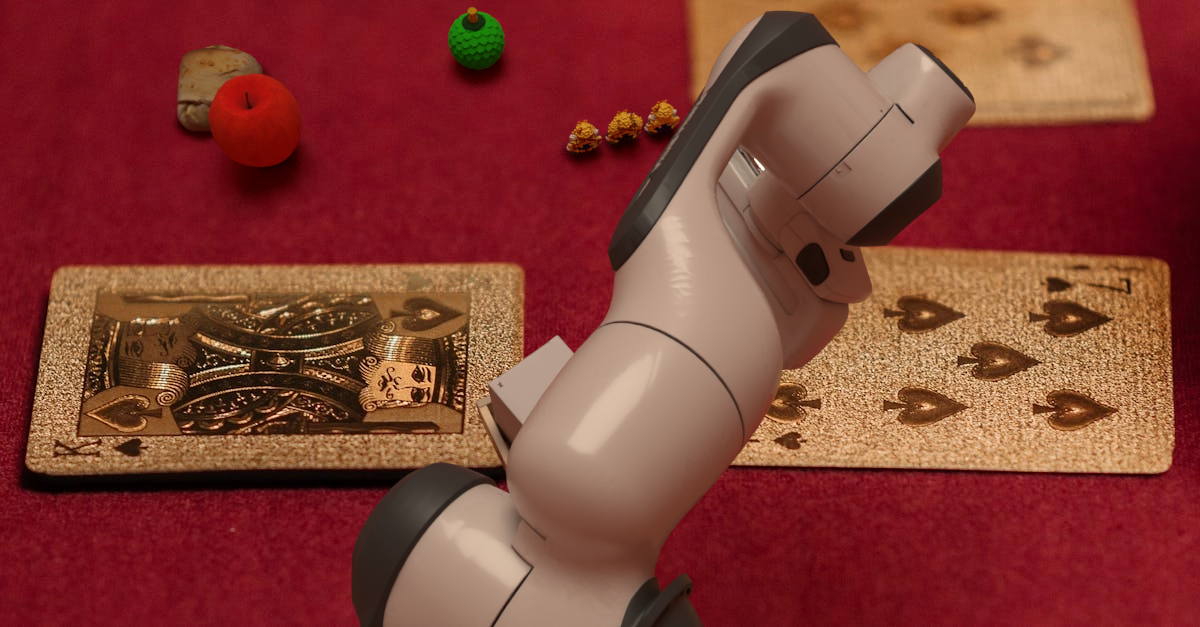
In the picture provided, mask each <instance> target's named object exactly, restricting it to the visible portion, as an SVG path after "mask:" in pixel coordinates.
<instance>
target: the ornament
mask: <svg viewBox="0 0 1200 627" xmlns="http://www.w3.org/2000/svg"><path fill="white" fill-rule="evenodd" d="M447 35H448V38H447V43H448V48H449V51H450V53H451V56H452V57H453V58H454V60H455V61H456V62H457V63H459V64H460V65H461V66H463V67H465V68H467V69H469V70H476V71H479V70H484V69H489V68H490V67H491V66H493V65H495V64H496V63H497V61H498V60H500V58H501V57H502V55H503V53H504V48H505V47H506V41H505V33H504V30H503V27H502V25H501V24H500V22H499V21H498V20H497V19H496V18H495V17H493V16H491V14H489V13H487V12H483V11H479V10H478V9H476V7H473V6H472V7H469V8H468V9H467V12H466V13H463V14H461V15H459V16H458V18H456V19H455V20H454V21H453V24H451V26H450V28H449V31H448V34H447Z"/></svg>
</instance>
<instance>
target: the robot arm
mask: <svg viewBox="0 0 1200 627" xmlns="http://www.w3.org/2000/svg"><path fill="white" fill-rule="evenodd" d="M973 95H974V94H972V92H971V91H970V89H969V88H968V87H967V86H966V85H965V84H964V82H963V81H962V80H961V79H960V78H959V77H958V76H957V75H956V73H954V72H953V70H951V68H949V66H948V65H946V64H945V63H944V61H942V59H940V58H938V57H937V56H936V55H935V54H934V52H932V51H931V50H930V49H928V48H927V47H925V46H923V45H921V44H917V43H914V42H911V41H910V42H906V43H904V44H902V45H901V46H900V47H898V48H896V49H895V50H894V51H892V52H891V53H889V54H888V55H886V56H885V57H884V58H883V59H881V60H880V61H879V62H877V63H876V64H875V65H873V67H871V68H869V69H868V70H867V71H866V72H864V70H863V69H861V67H859V65H857V63H856V62H855V61H853V59H852V58H851V57H849V55H848V54H846V52H845V51H843V49H842V48H841V45H840V44H839V42H837V40H836V39H835V38H834V37H833V35H832V34H831V33H830V32H829V31H828V30H827V28H826V27H825V26H824V24H822V22H821V21H820V20H819V19H818V17H816V15H815V14H814V13H811V12H806V11H797V10H767V11H765V12H764V13H763V14H761V15H759V16H757V17H755V18H753V19H752V20H750V21H748V23H746V24H745V25H744V26H742V27H741V28H740V29H739V30H738V31H737V32H736V33H735V34H734V35H733V36H732V37H731V38H730V39H729V41H728V42H727V43H726V44H725V46H724V47H723V48H722V50H721V52H720V53H719V54H718V56H717V58H716V60H715V61H714V63H713V65H712V67H711V69H710V72H709V75H708V77H707V80H706V83H705V85H704V87H703V88H702V89H701V92H700V93H699V95H698V96H697V98H696V100H695V101H694V103H693V105H692V106H691V109H690V110H689V111H688V113H687V115H686V116H685V117H684V119H683V121H682V122H681V123H680V125H679V127H678V128H677V130H676V131H675V132H674V134H673V136H672V137H671V138H670V140H669V142H668V143H667V145H666V146H665V148H664V149H663V151H661V154H660V155H659V157H658V158H657V160H656V161H655V163H654V164H653V165H652V167H651V169H650V170H649V171H648V173H647V175H646V176H645V178H644V179H643V181H642V182H641V184H640V186H639V187H638V189H637V190H636V192H635V193H634V195H633V197H632V199H631V200H630V202H629V204H628V205H627V207H626V208H625V210H624V211H623V213H622V215H621V216H620V219H619V221H618V222H617V225H616V226H615V228H614V231H613V233H612V235H611V238H610V240H609V244H608V248H607V255H608V260H609V262H610V266H611V270H612V272H614V273H613V289H612V296H611V301H610V304H609V307H608V311H607V313H606V314H605V316H604V319H603V320H602V321H601V323H600V325H598V327H597V328H596V329H595V330H594V331H593V332H592V333H591V334H590V335H589V336H588V337H587V339H586V340H585V341H584V342H583V343H582V344H581V345H580V346H579V347H578V349H577V350H575V352H573V353H574V354H573V356H572V357H571V358H570V359H569V360H568V362H567V363H566V364H565V365H564V367H563V368H562V369H561V370H560V372H559V373H558V374H557V376H556V377H555V378H554V380H553V381H552V382H551V384H550V385H549V386H548V388H547V389H546V390H545V392H544V393H543V395H542V396H541V397H540V399H539V401H538V402H537V404H536V405H535V407H534V408H533V410H532V411H531V413H530V414H529V416H528V417H527V419H526V421H525V422H524V424H523V426H522V427H521V429H520V431H519V432H518V434H517V436H516V437H515V439H514V441H513V443H512V445H511V448H510V451H509V454H508V458H507V466H506V472H505V477H506V486H507V489H508V492H507V491H505V490H503V489H501V488H500V487H499V488H498V485H497V483H496V481H495V480H494V479H493V478H491V477H489V476H487V475H485V474H482V473H480V472H477V471H475V470H472V469H470V468H467V467H465V466H461V465H458V464H455V463H450V462H446V461H445V462H444V461H437V462H432V463H430V464H427V465H424V466H422V467H420V468H418V469H416V470H414V471H411V472H409V473H408V474H406V475H405V476H403V477H402V478H401V479H400V480H399V481H397V482H396V483H395V484H394V485H393V486H392V487H391V488H390V489H389V490H388V491H387V492H386V493H385V494H384V495H383V497H382V498H381V499H380V500H379V501H378V503H377V504H376V506H374V508H373V509H372V511H371V512H370V514H369V516H368V517H367V518H366V520H365V522H364V524H363V525H362V527H361V529H360V531H359V533H358V535H357V538H356V540H355V543H354V546H353V550H352V553H351V554H352V555H351V568H350V569H351V571H350V575H351V576H350V577H351V578H350V579H351V586H350V588H351V601H352V602H351V603H352V605H353V609H354V611H355V613H356V614H355V615H356V616H357V619H358V622H359V624H360V626H359V627H705V626H704V623H703V621H702V620H701V617H700V616H699V614H698V612H697V610H696V609H695V607H694V605H693V603H692V602H691V600H690V596H691V594H692V592H693V589H694V585H695V584H694V582H693V581H692V579H691V578H690V576H689V574H688V573H686V572H685V573H684V572H683V573H681V574H679V575H678V576H676V578H674V579H673V580H672V581H671V582H670V583H669V584H667V586H666V587H665V588H664V589H663V590H662V588H661V586H660V583H659V579H658V576H656V568H657V564H658V560H659V557H660V553H661V551H662V549H663V547H664V545H665V543H666V541H667V540H668V537H669V536H670V535H671V534H672V532H673V531H674V530H675V528H676V527H677V526H678V525H679V523H680V522H681V521H682V520H683V519H684V517H686V515H687V514H688V513H689V512H690V511H691V510H692V509H693V508H694V507H695V506H696V504H698V503H699V501H700V500H701V499H702V498H703V497H704V496H705V495H706V494H707V493H708V492H709V491H710V489H711V488H712V487H714V485H715V484H716V483H717V482H718V481H719V480H720V478H721V477H722V476H723V475H724V473H725V472H726V471H727V469H728V468H729V467H730V466H731V465H732V464H733V462H734V461H735V459H736V458H737V457H738V456H739V454H740V453H741V452H742V450H743V449H744V448H745V447H746V445H747V444H748V443H749V441H750V440H751V439H752V437H753V436H754V434H755V432H756V431H757V430H758V428H759V427H760V425H761V424H762V422H763V421H764V419H765V417H767V416H766V415H767V414H768V412H769V410H770V408H771V407H772V405H773V403H774V400H775V399H776V396H777V394H778V391H779V388H780V385H781V381H782V377H783V370H784V371H785V370H787V371H790V370H791V371H792V370H798V369H802V368H803V367H805V366H806V365H807V364H809V363H810V362H811V361H812V360H814V359H815V358H816V357H817V356H818V355H819V354H820V353H821V352H823V350H825V348H826V347H827V346H828V345H829V344H830V343H832V341H833V339H834V338H835V337H836V336H837V335H838V333H840V331H842V329H843V328H844V326H845V325H846V322H847V320H848V317H849V313H850V307H849V305H853V304H854V305H855V304H856V305H857V304H860V303H861V304H862V302H864V301H865V300H867V299H868V298H869V297H870V296H871V294H872V292H873V284H872V280H871V277H870V273H869V270H868V269H867V265H866V262H865V259H864V256H863V252H862V250H861V248H862V247H863V248H871V247H872V248H873V247H887V246H888V245H889V244H890V243H891V242H892V241H893V240H894V239H895V238H896V237H897V236H898V235H899V234H900V233H901V232H902V231H903V230H905V229H906V228H907V227H908V226H909V225H910V224H912V223H913V222H914V221H915V220H916V219H918V218H919V217H920V216H921V215H922V214H924V213H925V212H926V211H927V210H929V209H931V207H933V206H934V205H935V204H936V203H938V202H939V201H940V200H941V199H942V198H943V191H944V190H943V189H944V187H943V185H944V181H943V180H944V179H943V178H944V177H943V176H944V175H943V174H944V173H943V161H942V157H940V154H941V153H942V152H943V151H944V150H945V149H946V148H947V147H948V146H949V144H951V142H952V141H953V140H954V139H955V138H956V137H957V135H958V134H960V132H961V131H962V130H963V128H964V127H966V125H967V124H968V122H969V121H970V120H971V119H972V118H973V116H974V115H975V113H976V111H977V105H976V102H975V98H974V96H973Z"/></svg>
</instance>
